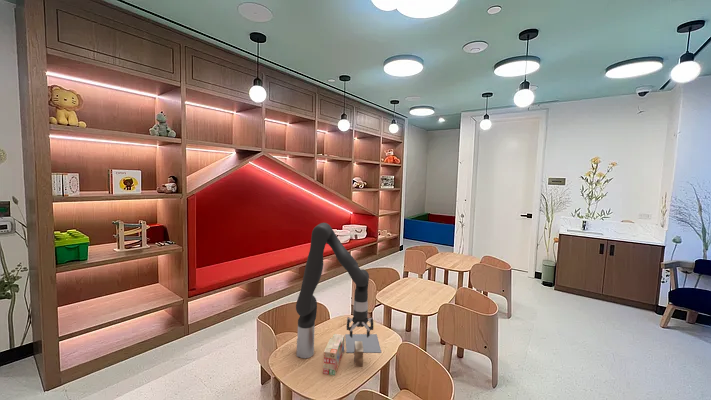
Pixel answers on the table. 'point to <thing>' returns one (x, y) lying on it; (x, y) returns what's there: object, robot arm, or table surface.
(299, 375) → the table surface
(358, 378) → the table surface
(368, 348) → the mat
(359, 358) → the walnut block
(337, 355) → the stack of blocks
